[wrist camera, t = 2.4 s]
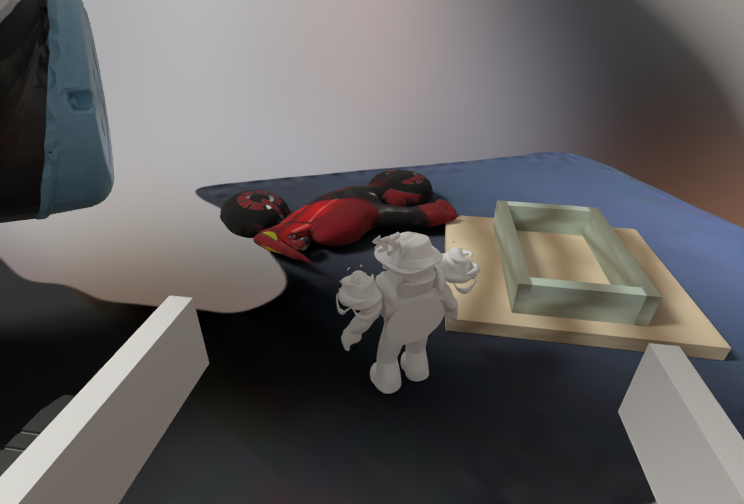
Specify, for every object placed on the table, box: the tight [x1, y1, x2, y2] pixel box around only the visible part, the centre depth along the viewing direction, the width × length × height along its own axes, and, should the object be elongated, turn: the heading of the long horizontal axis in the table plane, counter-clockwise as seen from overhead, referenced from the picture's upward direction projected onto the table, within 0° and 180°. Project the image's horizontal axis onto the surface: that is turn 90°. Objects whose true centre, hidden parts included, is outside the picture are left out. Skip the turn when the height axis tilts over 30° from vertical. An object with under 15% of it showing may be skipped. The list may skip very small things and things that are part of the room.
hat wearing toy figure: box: [336, 232, 480, 394], centre depth 26 cm, size 9×4×12 cm, turn 114°
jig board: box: [445, 200, 731, 361], centre depth 39 cm, size 20×18×4 cm
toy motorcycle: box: [220, 170, 458, 263], centre depth 46 cm, size 25×5×16 cm
